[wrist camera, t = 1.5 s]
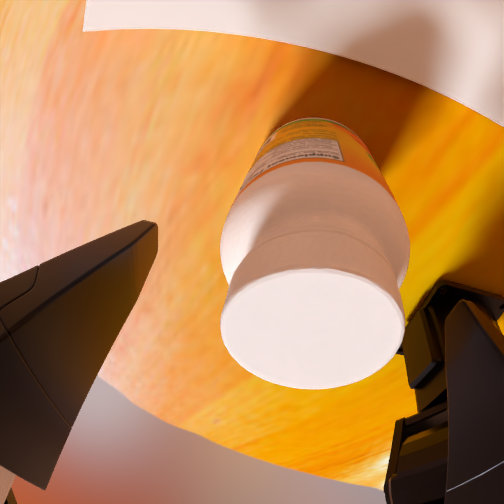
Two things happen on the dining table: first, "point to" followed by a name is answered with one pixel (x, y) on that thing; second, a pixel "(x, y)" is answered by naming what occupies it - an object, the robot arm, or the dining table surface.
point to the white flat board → (352, 35)
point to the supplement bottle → (314, 261)
